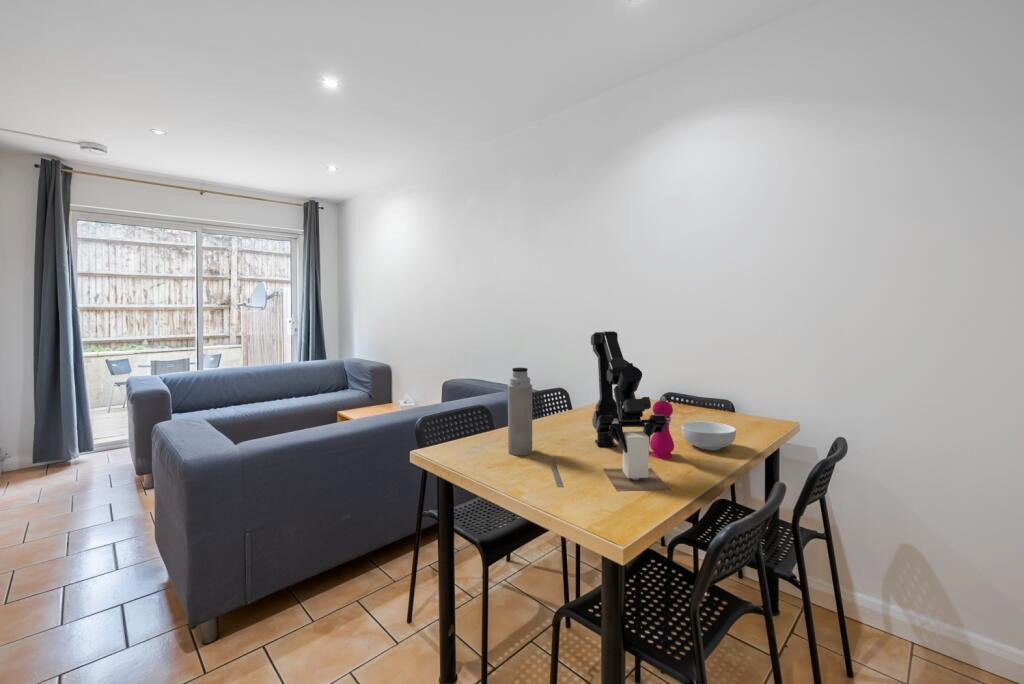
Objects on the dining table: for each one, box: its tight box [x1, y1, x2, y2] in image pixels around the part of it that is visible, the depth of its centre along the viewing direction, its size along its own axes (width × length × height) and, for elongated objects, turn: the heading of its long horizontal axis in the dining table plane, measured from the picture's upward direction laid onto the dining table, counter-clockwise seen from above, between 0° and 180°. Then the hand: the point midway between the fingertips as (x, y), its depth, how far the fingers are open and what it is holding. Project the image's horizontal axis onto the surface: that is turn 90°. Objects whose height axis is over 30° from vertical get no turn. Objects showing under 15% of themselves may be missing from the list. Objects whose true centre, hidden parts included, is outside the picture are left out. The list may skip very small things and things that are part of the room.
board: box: [602, 467, 672, 492], centre depth 123 cm, size 16×14×1 cm
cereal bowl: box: [680, 420, 737, 451], centre depth 155 cm, size 17×17×7 cm
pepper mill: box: [649, 395, 675, 460], centre depth 142 cm, size 7×7×20 cm
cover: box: [622, 430, 650, 478], centre depth 123 cm, size 5×5×11 cm
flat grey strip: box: [550, 465, 565, 488], centre depth 128 cm, size 16×13×1 cm
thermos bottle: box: [507, 367, 533, 456], centre depth 149 cm, size 8×8×28 cm
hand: (636, 451), depth 121 cm, fingers closed on cover, 5 cm apart
